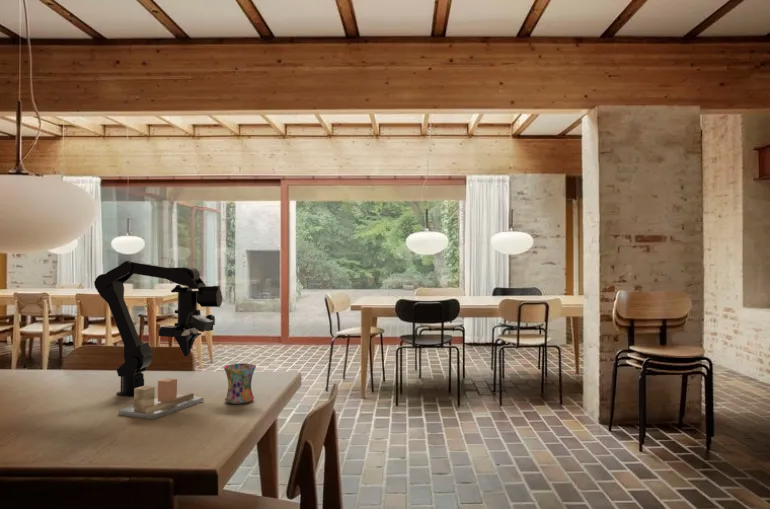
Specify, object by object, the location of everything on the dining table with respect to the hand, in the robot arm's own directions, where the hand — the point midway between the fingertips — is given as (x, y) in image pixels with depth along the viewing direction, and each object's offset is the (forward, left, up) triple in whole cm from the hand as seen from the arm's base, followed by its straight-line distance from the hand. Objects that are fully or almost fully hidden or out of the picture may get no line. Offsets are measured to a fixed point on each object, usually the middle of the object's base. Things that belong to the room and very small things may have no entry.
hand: (186, 356), depth 167 cm
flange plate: (+5, -15, -12) cm, 20 cm away
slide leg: (+5, -13, -10) cm, 18 cm away
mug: (+20, 0, -12) cm, 23 cm away
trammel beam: (+6, -15, -11) cm, 19 cm away
